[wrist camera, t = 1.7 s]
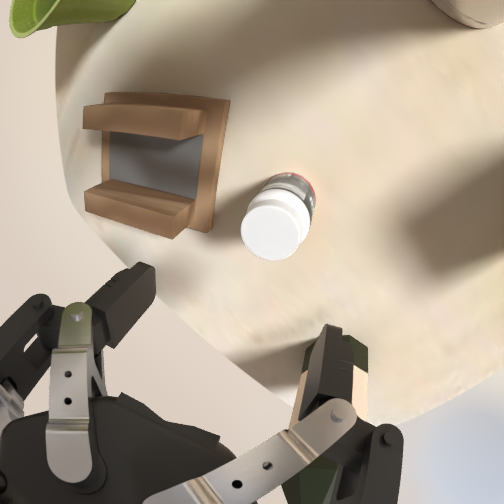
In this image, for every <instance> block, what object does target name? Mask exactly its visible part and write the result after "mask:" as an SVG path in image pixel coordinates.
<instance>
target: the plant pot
mask: <svg viewBox="0 0 504 504" xmlns="http://www.w3.org/2000/svg"><path fill="white" fill-rule="evenodd" d="M135 1H136V0H13V1H12V5H11V9H10V18H9V22H10V29H11V31H12V33H13V35H14V36H15V37H17V38H24V37H27V36H29V35H31V34H32V33H34V32H35V31H38V30H43V29H48V28H50V27H52V26H59V25H67V24H78V23H93V22H110V21H113V20H115V19H117V18H118V17H119V16H120V15H122V14H124V13H125V12H127V11H128V10H129V9H130V7H131V6H132V5H133V4H134V2H135Z"/></svg>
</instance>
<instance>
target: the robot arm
mask: <svg viewBox="0 0 504 504" xmlns="http://www.w3.org/2000/svg"><path fill="white" fill-rule="evenodd" d="M431 1H432V2H433V3H434V4H435V5H436V6H437V7H438V8H439V9H440V10H442V11H443V12H444V13H446V14H447V15H448V16H450V17H451V18H453V19H455V20H456V21H458V22H460V23H462V24H464V25H467V26H470V27H474V28H481V29H484V28H489V27H492V26H495V25H497V24H500V23H502V22H504V0H431ZM155 294H156V284H155V268H154V267H153V266H151V265H148V264H145V263H142V262H138V263H136V264H135V265H134V266H133V267H132V268H131V269H128V268H127V269H124V270H122V271H120V272H118V273H116V274H115V275H114V276H113V277H112V278H111V280H109V281H108V282H106V283H105V285H103V286H102V287H101V288H100V289H99V290H98V291H97V292H96V293H95V294H94V295H92V296H91V297H90V298H89V299H88V300H87V301H86V302H85V303H82V302H75V303H72V304H70V305H68V306H67V307H66V308H65V307H60V306H55V305H52V303H51V300H50V298H49V296H47V295H45V294H36V295H33V296H32V297H30V298H29V299H28V300H27V301H26V302H25V303H24V304H23V305H22V306H21V307H20V308H19V309H18V310H17V311H16V312H15V313H14V314H13V315H12V316H11V317H10V318H9V319H8V320H7V321H6V322H5V323H4V324H3V325H2V326H1V327H0V504H258V503H257V501H256V500H258V499H259V498H261V497H262V496H264V495H266V494H267V493H269V492H270V491H272V490H273V489H275V488H276V487H277V486H279V485H281V484H282V483H284V482H285V481H287V480H288V479H289V478H291V477H292V476H294V475H295V474H296V473H298V472H299V471H300V470H302V469H303V468H304V467H306V466H307V465H308V464H309V463H311V462H312V461H313V460H314V459H316V458H317V457H318V456H319V455H322V456H324V457H326V458H328V459H330V460H332V461H334V462H336V463H338V464H339V468H338V472H337V476H336V480H335V484H334V488H333V492H332V496H331V500H330V503H329V504H397V501H398V494H399V487H400V479H401V469H402V457H403V443H404V442H403V441H404V439H403V435H402V433H401V431H400V430H399V429H398V428H397V427H396V426H394V425H392V424H381V425H379V426H378V427H375V426H373V425H372V424H370V423H368V422H366V421H364V420H362V419H361V418H360V417H358V415H357V414H356V410H355V408H354V407H353V406H352V390H353V370H354V365H353V363H354V351H353V349H352V347H351V344H350V343H349V342H345V341H342V328H340V327H336V326H333V325H329V324H325V326H324V327H323V329H322V332H321V334H320V336H319V338H318V340H317V342H316V344H315V346H314V348H313V350H312V353H311V357H310V361H309V367H308V372H307V378H306V383H305V388H304V393H303V398H302V402H301V407H300V412H299V416H298V421H300V422H299V423H297V424H296V425H294V426H293V427H291V428H290V429H288V430H286V429H285V430H283V431H281V432H279V433H278V434H276V435H274V436H273V437H271V438H270V439H268V440H267V441H265V442H263V443H262V444H260V445H259V446H257V447H255V448H253V449H252V450H250V451H249V452H247V453H245V454H243V455H241V456H240V457H238V458H236V456H235V455H234V454H233V453H232V452H231V451H230V450H229V449H228V448H227V447H225V446H224V445H223V444H221V443H219V439H220V436H218V435H216V434H212V433H210V432H207V431H205V430H202V429H199V428H197V427H195V426H189V425H183V424H178V423H172V422H168V421H165V420H163V419H162V418H161V417H159V416H158V415H157V414H156V413H154V412H153V411H152V410H151V409H149V408H148V407H147V406H146V405H144V404H143V403H141V402H139V401H137V400H135V399H134V398H131V397H130V396H128V395H126V394H124V393H122V392H121V394H120V395H119V397H112V396H108V395H107V391H106V386H105V376H104V357H103V348H104V347H105V345H108V346H109V347H111V348H113V349H114V348H115V347H116V346H117V345H118V343H119V342H120V341H121V340H122V339H123V337H124V336H125V335H126V334H127V333H128V331H129V330H130V329H131V328H132V327H133V325H134V324H135V323H136V322H137V320H138V319H139V318H140V317H141V316H142V315H143V313H144V312H145V311H146V310H147V309H148V308H149V306H150V305H151V304H152V302H153V301H154V298H155ZM35 334H37V336H38V337H37V338H36V340H35V341H34V342H33V343H32V344H31V345H30V346H29V348H28V349H27V350H26V351H25V352H24V347H25V345H26V344H27V343H28V342H29V341H30V339H31V338H32V337H33V336H34V335H35ZM50 366H51V371H50V386H49V410H48V411H45V412H41V413H37V414H33V415H29V416H25V417H24V411H23V408H24V403H23V402H24V400H25V399H26V397H27V396H28V395H29V393H30V392H31V391H32V389H33V388H34V387H35V385H36V384H37V383H38V381H39V380H40V379H41V377H42V376H43V375H44V373H45V372H46V371H47V369H48V368H49V367H50Z"/></svg>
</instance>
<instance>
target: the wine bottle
mask: <svg viewBox="0 0 504 504" xmlns="http://www.w3.org/2000/svg"><path fill="white" fill-rule="evenodd" d="M342 341H345V342H349V343H350V344H351V347H352V349H353V351H354V363H353V365H354V370H353V390H352V406H353V407H354V408H355V410H356V414H357V415H358V417H360V418H361V419H362V420H364V421H367V399H368V347H366V346H365V345H363V344H362V343H361V342H359V341H358V340H356V339H355V338H353V337H352V336H350V335H342ZM316 342H317V341H316ZM316 342H315V343H313V344H312V345H311V346H309V347H308V348H307V349H306V353H305V358H304V363H303V368H302V373H301V378H300V382H299V387H298V391H297V396H296V400H295V404H294V408H293V413H292V417H291V421H290V425H289V429H290V428H291V427H293V426H294V425H296V424H297V423H299V422H300V421H298V416H299V412H300V407H301V402H302V398H303V393H304V388H305V383H306V378H307V372H308V367H309V361H310V357H311V353H312V350H313V348H314V346H315V344H316ZM338 468H339V464H338V463H336V462H334V461H332V460H330V459H328V458H326V457H324V456H322V455H319V456H318V457H317V458H316V459H314V460H313V461H312V462H311V463H309V464H308V465H307V466H306V467H304V468H303V469H302V470H300V471H299V472H298V473H296V474H295V475H294V476H292V477H291V478H289V479H288V480H287V481H285V482H284V483H282V484H281V486H282V489H283V491H284V494H285V497H286V500H287V503H288V504H329V503H330V500H331V496H332V492H333V488H334V484H335V480H336V476H337V472H338Z"/></svg>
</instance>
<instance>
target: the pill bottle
mask: <svg viewBox="0 0 504 504" xmlns="http://www.w3.org/2000/svg"><path fill="white" fill-rule="evenodd" d="M315 203H316V197H315V192H314V189H313V187H312V185H311V184H310V182H309V181H308V180H306V179H305V178H304V177H302V176H301V175H299V174H296V173H291V172H286V173H281V174H278V175H276V176H274V177H273V178H272V179H270V180H269V181H268V183H267V184H266V185H265V186H264V187H263V188H262V190H261V191H260V192H259V193H258V194H257V195H256V196H255V197H254V198H253V199H252V201H251V202H250V204H249V206H248V208H247V211H246V215H245V217H244V218H243V220H242V223H241V237H242V240H243V243H244V244H245V246H246V247H247V249H248V250H249V251H250V252H251V253H253V254H254V255H255V256H257V257H259V258H262V259H265V260H269V261H278V260H282V259H285V258H287V257H289V256H290V255H292V254H293V253H294V252H295V250H296V249H297V247H298V245H299V244H300V243H301V242H302V241H303V240H304V239H305V237H306V236H307V234H308V231H309V228H310V225H311V220H312V216H313V211H314V207H315Z"/></svg>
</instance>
